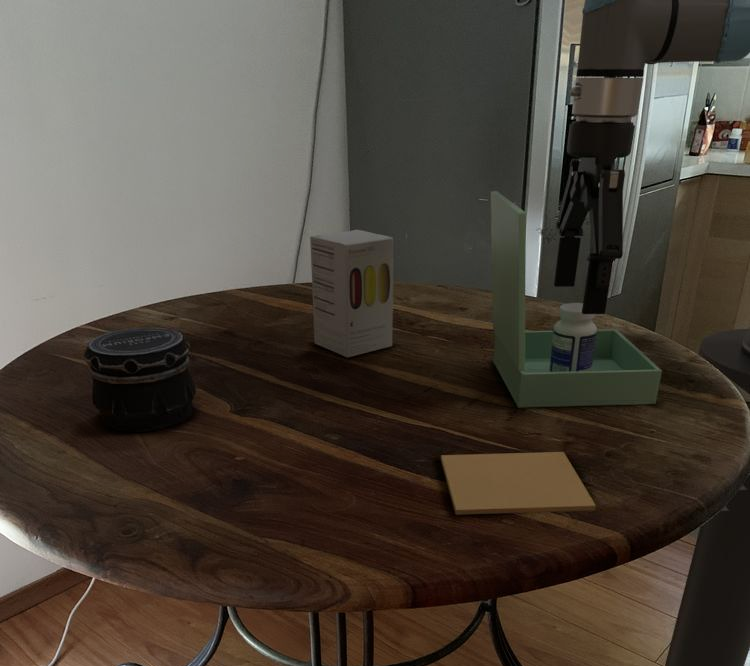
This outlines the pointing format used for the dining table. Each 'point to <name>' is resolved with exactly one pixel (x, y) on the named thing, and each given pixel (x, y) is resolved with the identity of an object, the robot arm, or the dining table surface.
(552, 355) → the pill bottle
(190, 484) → the dining table surface
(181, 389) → the container
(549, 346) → the chest
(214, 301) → the dining table surface
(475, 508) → the cork mat
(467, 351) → the dining table surface
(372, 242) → the supplement box
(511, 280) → the chest lid
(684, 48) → the robot arm
